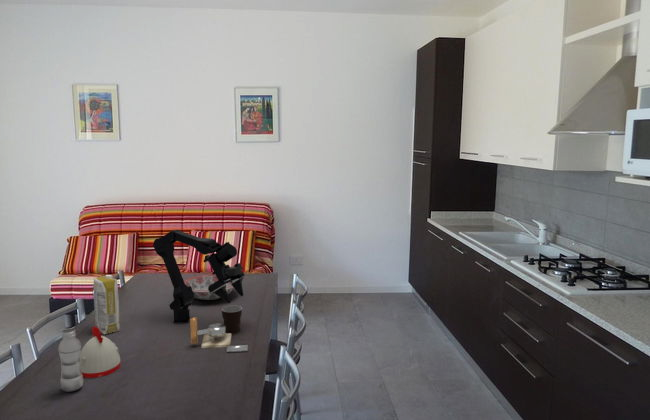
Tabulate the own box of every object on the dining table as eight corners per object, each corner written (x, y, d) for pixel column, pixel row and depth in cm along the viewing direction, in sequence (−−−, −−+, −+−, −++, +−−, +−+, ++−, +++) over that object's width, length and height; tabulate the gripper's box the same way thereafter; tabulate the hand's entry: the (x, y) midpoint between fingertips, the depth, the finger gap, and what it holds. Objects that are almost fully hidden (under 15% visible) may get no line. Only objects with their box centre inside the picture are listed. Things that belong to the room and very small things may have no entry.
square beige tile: (201, 348, 183) (201, 341, 183) (204, 336, 194) (204, 329, 193) (230, 346, 185) (229, 339, 184) (231, 335, 196) (231, 328, 195)
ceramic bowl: (250, 294, 247) (250, 280, 246) (209, 311, 223) (209, 295, 221) (211, 285, 262) (211, 271, 261) (168, 299, 238) (168, 284, 237)
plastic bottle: (66, 384, 155) (62, 326, 152) (87, 383, 156) (83, 326, 153) (56, 394, 149) (52, 335, 146) (79, 394, 149) (75, 334, 146)
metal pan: (222, 333, 194) (222, 310, 192) (227, 339, 188) (227, 316, 186) (189, 339, 187) (188, 315, 186) (192, 346, 181) (192, 321, 180)
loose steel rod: (226, 353, 180) (226, 347, 179) (227, 350, 182) (226, 344, 182) (247, 352, 181) (247, 346, 180) (247, 349, 183) (247, 343, 183)
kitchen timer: (112, 355, 176) (110, 317, 174) (127, 368, 166) (124, 328, 164) (72, 367, 166) (69, 327, 164) (85, 382, 157) (82, 339, 155)
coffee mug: (237, 336, 195) (237, 313, 194) (218, 334, 197) (218, 311, 195) (247, 325, 206) (247, 303, 205) (229, 323, 208) (229, 302, 207)
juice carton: (122, 331, 198) (119, 276, 195) (102, 336, 193) (99, 280, 189) (112, 324, 205) (109, 271, 201) (93, 330, 199) (90, 275, 195)
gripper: (218, 263, 186) (236, 298, 185) (244, 253, 203) (261, 285, 201) (199, 275, 191) (217, 309, 189) (227, 264, 208) (243, 295, 206)
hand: (236, 299), depth 196 cm, fingers open, 9 cm apart
